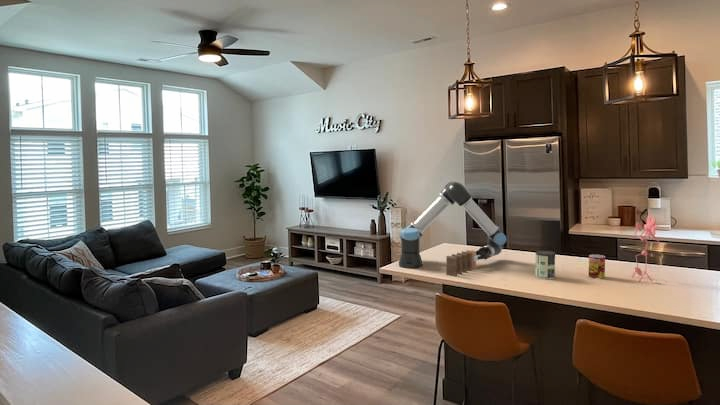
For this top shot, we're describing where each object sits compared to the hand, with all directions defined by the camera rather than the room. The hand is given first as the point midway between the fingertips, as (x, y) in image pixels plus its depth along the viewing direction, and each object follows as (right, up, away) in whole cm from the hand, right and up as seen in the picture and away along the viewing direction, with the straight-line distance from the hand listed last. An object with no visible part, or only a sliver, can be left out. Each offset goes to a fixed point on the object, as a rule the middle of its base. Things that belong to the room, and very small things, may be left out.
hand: (468, 257), depth 259 cm
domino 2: (-9, -8, -8) cm, 15 cm away
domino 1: (-13, -9, -12) cm, 20 cm away
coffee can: (+38, -8, -19) cm, 44 cm away
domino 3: (-5, -8, -5) cm, 10 cm away
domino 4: (-1, -7, -1) cm, 7 cm away
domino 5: (+3, -7, +3) cm, 8 cm away
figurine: (+91, -8, -29) cm, 96 cm away
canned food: (+66, -8, -21) cm, 70 cm away
